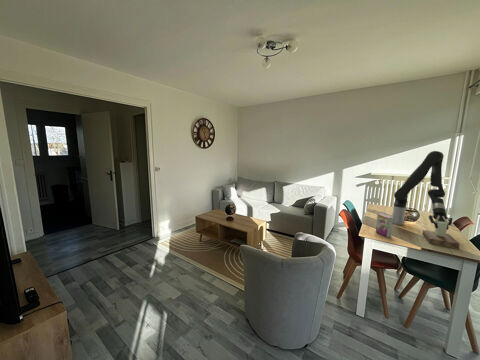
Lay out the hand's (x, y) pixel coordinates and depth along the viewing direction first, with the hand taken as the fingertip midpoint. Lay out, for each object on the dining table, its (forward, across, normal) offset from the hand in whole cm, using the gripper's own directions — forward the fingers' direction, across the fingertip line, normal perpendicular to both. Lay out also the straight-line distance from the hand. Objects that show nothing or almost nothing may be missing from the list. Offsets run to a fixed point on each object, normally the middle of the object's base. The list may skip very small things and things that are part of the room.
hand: (441, 228), depth 157 cm
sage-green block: (+3, 0, +5) cm, 6 cm away
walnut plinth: (+6, 0, +9) cm, 11 cm away
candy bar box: (+11, -37, +4) cm, 39 cm away
